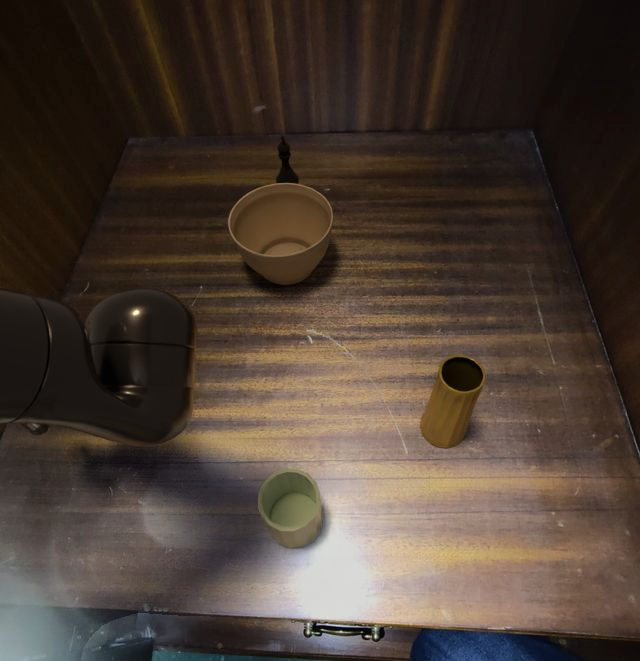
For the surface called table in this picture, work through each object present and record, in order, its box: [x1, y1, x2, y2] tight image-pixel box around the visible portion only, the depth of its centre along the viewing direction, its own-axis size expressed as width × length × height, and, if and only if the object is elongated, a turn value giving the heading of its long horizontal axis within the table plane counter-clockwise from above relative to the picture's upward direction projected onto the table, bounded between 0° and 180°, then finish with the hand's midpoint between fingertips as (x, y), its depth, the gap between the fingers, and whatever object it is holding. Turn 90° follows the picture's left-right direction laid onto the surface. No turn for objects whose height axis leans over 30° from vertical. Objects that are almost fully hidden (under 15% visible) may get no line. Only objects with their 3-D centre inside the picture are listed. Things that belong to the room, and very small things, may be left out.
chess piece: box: [275, 135, 300, 184], centre depth 97 cm, size 4×4×10 cm
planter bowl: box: [227, 183, 334, 286], centre depth 84 cm, size 16×16×11 cm
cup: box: [257, 467, 324, 549], centre depth 60 cm, size 7×7×8 cm
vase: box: [419, 353, 487, 449], centre depth 64 cm, size 6×6×14 cm
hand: (68, 379), depth 62 cm, fingers open, 8 cm apart
